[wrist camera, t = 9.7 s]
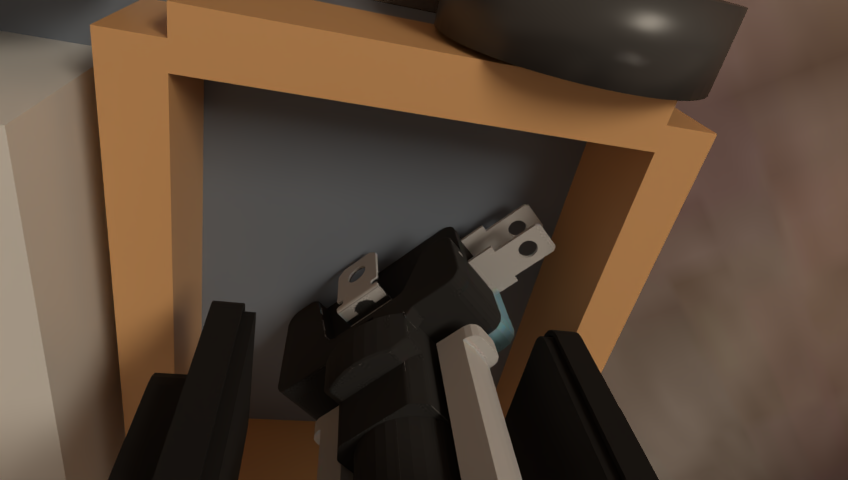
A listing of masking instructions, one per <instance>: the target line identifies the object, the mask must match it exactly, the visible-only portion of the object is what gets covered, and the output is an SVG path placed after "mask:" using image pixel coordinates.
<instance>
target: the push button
mask: <svg viewBox="0 0 848 480" xmlns="http://www.w3.org/2000/svg"><path fill="white" fill-rule="evenodd" d="M514 221H523V222H524V223H525V225H526V227H525V230H524V231H523V232H521V233H520V234H518V235H512V234H510V233H509V230H508V228H509V226H510V224H511V223H512V222H514ZM525 241H533V242H535V243H536V244H537V248H536V250H535V252H534V253H533V254H531V255H528V256H523V255H521V254H520V253H519V250H518V249H519V247H520V245H521V244H522V243H523V242H525ZM554 249H555V244H554V243H553V241H552V240H551V239H550V237H549V236H548V234H547V233H546V232H545V230H544V229H543V224H542V223H541V222H540V220H539V219H538V217H537V216H536V215H535V213H534V212H533V210H532V209H531V208H530V206H529V205H526V204H523V205H522V206H520V207H519V208H517V209H516V210H514V211H513V212H511V213H510V214H508V215H507V216H505V217H504V218H502V219H501V220H499V221H498V222H496V223H495V224H493V225H492V226H490V227H489V228H487V229H485V228H484V227H483V226H482V225H481V226H480V227H479V228H477V229H476V230H474V231H473V232H471V233H470V234H468V235H467V236H465V237H464V238H461V237H460V235H459V234H458V233H457V232H456V231H455V229H454V228H453V227H446V228H444V229H442V230H440V231H439V232H437V233H436V234H434V235H433V236H431V237H430V238H429V239H427V240H426V241H424V242H423V243H421V244H420V245H418V246H417V247H415V248H414V249H413V250H411V251H410V252H408V253H407V254H405V255H404V256H402V257H401V258H400V259H398V260H397V261H395V262H394V263H392V264H391V265H389V266H388V267H386V268H385V269H384V270H382V271H381V272H379V273H378V258H377V254H376V253H375V252H372V253H368V254H367V255H365V256H364V257H363V258H361V259H360V260H358V261H357V262H355V263H354V264H353V265H351V266H350V267H348V268H347V269H345V270H344V271H343V273H342V274H341V276H340V277H339V281H338V299H337V302H336V303H334V304H333V305H331V306H330V307H328V308H326V307H324V306H323V305H322V304H321V303H320V302H319V301H315V302H312V303H311V304H309V305H308V306H306V307H305V308H303V309H302V310H301V311H299V312H298V313H297V314H296V315H295V316H294V317H293V318H292V319H291V321H290V323H289V326H288V332H287V337H286V343H285V349H284V354H283V360H282V366H281V372H280V377H279V383H278V390H279V392H281V393H282V394H283V395H284V396H286V397H287V398H288V399H290V400H291V401H292V402H293V403H295V404H296V405H297V406H299V407H300V408H301V409H302V410H304V411H305V412H306V413H307V414H309V415H310V416H311V417H313V418H314V419H315V420H316V422H315V431H314V441H315V442H316V443H317V444H318V445H319V457H318V471H317V480H522V477H521V474H520V470H519V467H518V463H517V460H516V457H515V453H514V450H513V446H512V443H511V439H510V436H509V433H508V429H507V426H506V422H505V419H504V416H503V412H502V409H501V405H500V402H499V399H498V395H497V392H496V388H495V385H494V381H493V378H492V375H491V371H490V368H491V367H492V366H493V365H495V364H496V363H497V361H498V357H499V356H498V352H500V351H501V350H503V349H505V348H506V347H507V346H508V345H509V344H510V343H511V341H512V340H513V338H514V328H513V326H512V323H511V320H510V319H509V316H508V314H507V311H506V309H505V306H504V303H503V301H502V298H501V295H500V292H501V291H503V290H504V289H506V288H507V287H509V286H511V285H512V284H514V283H515V282H517V281H518V280H517V278H516V277H515V276H516V275H517V274H519V273H520V272H522V271H523V270H525V269H526V268H528V267H530V266H531V265H533V264H534V263H536V262H537V261H539V260H540V259H542V258H544V257H545V256H547V255H548V254H550V253H551V252H553V251H554ZM362 268H365V271H364V273H363V275H362V276H361V277H360V278H359V279H358V280H356V281H354V282H351V283H350V281H351V278H352V277H353V275H354V274H355V273H356V272H357V271H359V270H360V269H362Z"/></svg>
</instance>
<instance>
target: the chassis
mask: <svg viewBox="0 0 848 480" xmlns="http://www.w3.org/2000/svg"><path fill="white" fill-rule="evenodd" d="M747 10H748V8H747V7H744V6H741V5H737V4H734V3H730V2H726V1H723V0H439V3H438V7H437V12H436V13H432V12H428V11H423V10H418V9H413V8H408V7H403V6H398V5H393V4H388V3H383V2H378V1H373V0H0V480H108V479H109V477H110V474H111V472H112V470H113V467H114V465H115V462H116V460H117V457H118V455H119V452H120V450H121V448H122V445H123V443H124V440H125V438H126V435H127V433H128V430H129V428H130V426H131V423H132V421H133V418H134V416H135V413H136V411H137V408H138V406H139V404H140V401H141V399H142V396H143V394H144V391H145V389H146V386H147V384H148V382H149V380H150V378H151V376H152V375H153V374H154V373H170V374H188V371H189V368H190V365H191V362H192V359H193V356H194V353H195V350H196V347H197V344H198V341H199V338H200V335H201V332H202V329H203V326H204V323H205V320H206V317H207V314H208V311H209V308H210V305H211V303H212V301H213V300H214V301H225V302H237V303H245V311H247V312H256V324H255V339H254V353H253V367H252V381H251V396H250V410H249V421H248V428H247V435H246V440H245V446H244V451H243V456H242V462H241V467H240V473H239V478H238V480H317V471H318V457H319V445H318V444H317V443H316V442H315V441H314V431H315V422H316V420H315V419H314V418H313V417H311V416H310V415H309V414H307V413H306V412H305V411H304V410H302V409H301V408H300V407H299V406H297V405H296V404H295V403H293V402H292V401H291V400H290V399H288V398H287V397H286V396H284V395H283V394H282V393H281V392H279V390H278V383H279V377H280V372H281V366H282V360H283V354H284V349H285V343H286V337H287V332H288V326H289V323H290V321H291V319H292V318H293V317H294V316H295V315H296V314H297V313H298V312H299V311H301V310H302V309H303V308H305V307H306V306H308V305H309V304H311V303H312V302H315V301H319V302H320V303H321V304H322V305H323V306H324V307H326V308H328V307H330V306H331V305H333V304H334V303H336V302H337V299H338V281H339V277H340V276H341V274H342V273H343V271H344V270H345V269H347V268H348V267H350V266H351V265H353V264H354V263H355V262H357V261H358V260H360V259H361V258H363V257H364V256H365V255H367V254H368V253H372V252H375V253H376V254H377V258H378V273H379V272H381V271H382V270H384V269H385V268H386V267H388V266H389V265H391V264H392V263H394V262H395V261H397V260H398V259H400V258H401V257H402V256H404V255H405V254H407V253H408V252H410V251H411V250H413V249H414V248H415V247H417V246H418V245H420V244H421V243H423V242H424V241H426V240H427V239H429V238H430V237H431V236H433V235H434V234H436V233H437V232H439V231H440V230H442V229H444V228H446V227H453V228H454V229H455V231H456V232H457V233H458V234H459V235H460V237H461V238H464V237H465V236H467V235H468V234H470V233H471V232H473V231H474V230H476V229H477V228H479V227H480V226H481V225H482V226H483V227H484V228H485V229H487V228H489V227H490V226H492V225H493V224H495V223H496V222H498V221H499V220H501V219H502V218H504V217H505V216H507V215H508V214H510V213H511V212H513V211H514V210H516V209H517V208H519V207H520V206H522V205H523V204H526V205H529V206H530V208H531V209H532V210H533V212H534V213H535V215H536V216H537V217H538V219H539V220H540V222H541V223H542V224H543V229H544V230H545V232H546V233H547V234H548V236H549V237H550V239H551V240H552V241H553V243H554V244H555V249H554V251H553V252H551V253H550V254H548V255H547V256H545V257H544V258H542V259H540V260H539V261H537V262H536V263H534V264H533V265H531V266H530V267H528V268H526V269H525V270H523V271H522V272H520V273H519V274H517V275H516V276H515V277H516V278H517V280H518V281H517V282H515V283H514V284H512V285H511V286H509V287H507V288H506V289H504V290H503V291H501V292H500V295H501V298H502V301H503V303H504V306H505V309H506V311H507V314H508V316H509V319H510V320H511V323H512V326H513V328H514V338H513V340H512V341H511V343H510V344H509V345H508V346H507V347H506V348H505V349H503V350H501V351H500V352H498V356H499V357H498V361H497V363H496V364H495V365H493V366H492V367H491V368H490V371H491V375H492V378H493V381H494V385H495V388H496V392H497V395H498V399H499V402H500V405H501V409H502V412H503V416H504V419H505V417H506V415H507V412H508V410H509V407H510V405H511V402H512V400H513V397H514V394H515V392H516V389H517V387H518V384H519V382H520V379H521V377H522V374H523V372H524V369H525V367H526V364H527V361H528V359H529V356H530V354H531V351H532V349H533V346H534V344H535V341H536V339H537V338H538V337H539V336H544V335H545V333H546V332H547V331H548V330H559V331H571V332H577V333H579V335H580V336H581V337H582V339H583V341H584V343H585V345H586V347H587V349H588V350H589V352H590V354H591V356H592V358H593V360H594V362H595V363H596V365H597V367H598V369H599V371H600V373H601V372H602V370H603V368H604V366H605V364H606V362H607V360H608V358H609V356H610V354H611V352H612V350H613V348H614V345H615V343H616V341H617V339H618V337H619V335H620V333H621V331H622V329H623V327H624V325H625V323H626V321H627V319H628V317H629V315H630V313H631V310H632V308H633V306H634V304H635V302H636V300H637V298H638V296H639V294H640V292H641V290H642V288H643V286H644V284H645V282H646V280H647V278H648V275H649V273H650V271H651V269H652V267H653V265H654V263H655V261H656V259H657V257H658V255H659V253H660V251H661V249H662V247H663V245H664V243H665V240H666V238H667V236H668V234H669V232H670V230H671V228H672V226H673V224H674V222H675V220H676V218H677V216H678V214H679V212H680V210H681V208H682V205H683V203H684V201H685V199H686V197H687V195H688V193H689V191H690V189H691V187H692V185H693V183H694V181H695V179H696V177H697V175H698V173H699V170H700V168H701V166H702V164H703V162H704V160H705V158H706V156H707V154H708V152H709V150H710V148H711V146H712V144H713V142H714V140H715V138H716V135H717V134H716V133H714V132H713V131H711V130H710V129H708V128H706V127H705V126H703V125H702V124H700V123H698V122H697V121H695V120H694V119H692V118H690V117H689V116H687V115H686V114H684V113H683V112H681V111H679V110H678V109H676V108H675V105H676V103H677V101H694V100H701V99H705V98H706V97H707V96H708V94H709V92H710V90H711V88H712V86H713V83H714V81H715V79H716V77H717V75H718V73H719V70H720V68H721V66H722V64H723V62H724V60H725V57H726V55H727V53H728V51H729V49H730V47H731V44H732V42H733V40H734V38H735V36H736V34H737V31H738V29H739V27H740V25H741V23H742V20H743V18H744V16H745V14H746V12H747ZM525 227H526V225H525V223H524V222H523V221H514V222H512V223H511V224H510V226H509V228H508V230H509V233H510V234H512V235H518V234H520V233H521V232H523V231H524V230H525ZM536 248H537V244H536V243H535V242H533V241H525V242H523V243H522V244H521V245H520V247H519V249H518V250H519V253H520V254H521V255H523V256H528V255H531V254H533V253H534V252H535V250H536ZM364 271H365V268H362V269H360V270H359V271H357V272H356V273H355V274H354V275H353V277H352V278H351V281H350V283H351V282H354V281H356V280H358V279H359V278H360V277H361V276H362V275H363V273H364Z"/></svg>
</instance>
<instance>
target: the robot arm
mask: <svg viewBox="0 0 848 480" xmlns="http://www.w3.org/2000/svg"><path fill="white" fill-rule="evenodd" d="M255 324H256V312H247V311H245V303H237V302H225V301H214V300H213V301H212V303H211V305H210V308H209V311H208V314H207V317H206V320H205V323H204V326H203V329H202V332H201V335H200V338H199V341H198V344H197V347H196V350H195V353H194V356H193V359H192V362H191V365H190V368H189V371H188V374H170V373H154V374H153V375H152V376H151V378H150V380H149V382H148V384H147V386H146V389H145V391H144V394H143V396H142V399H141V401H140V404H139V406H138V408H137V411H136V413H135V416H134V418H133V421H132V423H131V426H130V428H129V430H128V433H127V435H126V438H125V440H124V443H123V445H122V448H121V450H120V452H119V455H118V457H117V460H116V462H115V465H114V467H113V470H112V472H111V474H110V477H109V479H108V480H238V478H239V473H240V467H241V462H242V456H243V451H244V446H245V440H246V435H247V428H248V421H249V410H250V396H251V381H252V367H253V353H254V339H255ZM505 422H506V426H507V429H508V433H509V436H510V439H511V443H512V446H513V450H514V453H515V457H516V460H517V463H518V467H519V470H520V474H521V477H522V480H659V479H658V477H657V476H656V474H655V472H654V470H653V468H652V466H651V464H650V463H649V461H648V459H647V457H646V455H645V453H644V451H643V450H642V448H641V446H640V444H639V442H638V440H637V438H636V437H635V435H634V433H633V431H632V429H631V427H630V425H629V424H628V422H627V420H626V418H625V416H624V414H623V412H622V411H621V409H620V408H619V406H618V404H617V402H616V401H615V399H614V397H613V395H612V393H611V391H610V389H609V388H608V386H607V384H606V382H605V380H604V378H603V376H602V375H601V373H600V371H599V369H598V367H597V365H596V363H595V362H594V360H593V358H592V356H591V354H590V352H589V350H588V349H587V347H586V345H585V343H584V341H583V339H582V337H581V336H580V335H579V333H577V332H571V331H559V330H548V331H547V332H546V333H545V335H544V336H539V337H538V338H537V339H536V341H535V344H534V346H533V349H532V351H531V354H530V356H529V359H528V361H527V364H526V367H525V369H524V372H523V374H522V377H521V379H520V382H519V384H518V387H517V389H516V392H515V394H514V397H513V400H512V402H511V405H510V407H509V410H508V412H507V415H506V417H505Z"/></svg>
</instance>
